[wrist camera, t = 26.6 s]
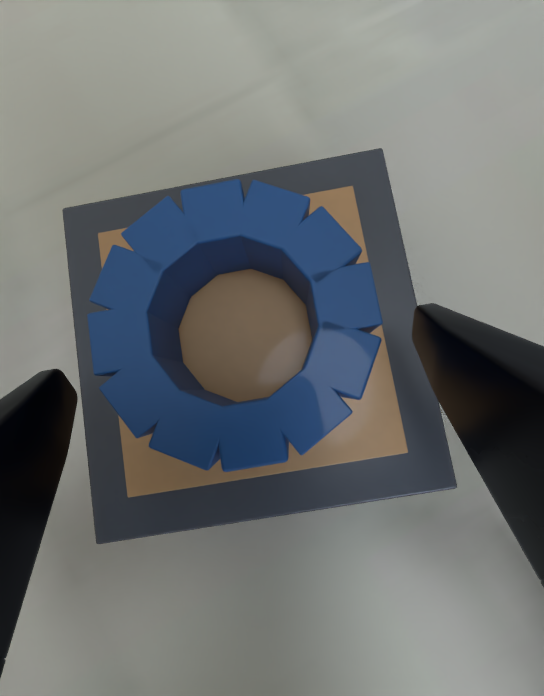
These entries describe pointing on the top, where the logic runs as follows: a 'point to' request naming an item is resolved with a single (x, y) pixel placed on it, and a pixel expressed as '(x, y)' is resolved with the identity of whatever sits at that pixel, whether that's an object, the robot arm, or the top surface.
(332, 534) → the top surface
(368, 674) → the top surface
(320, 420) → the ring
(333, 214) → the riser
